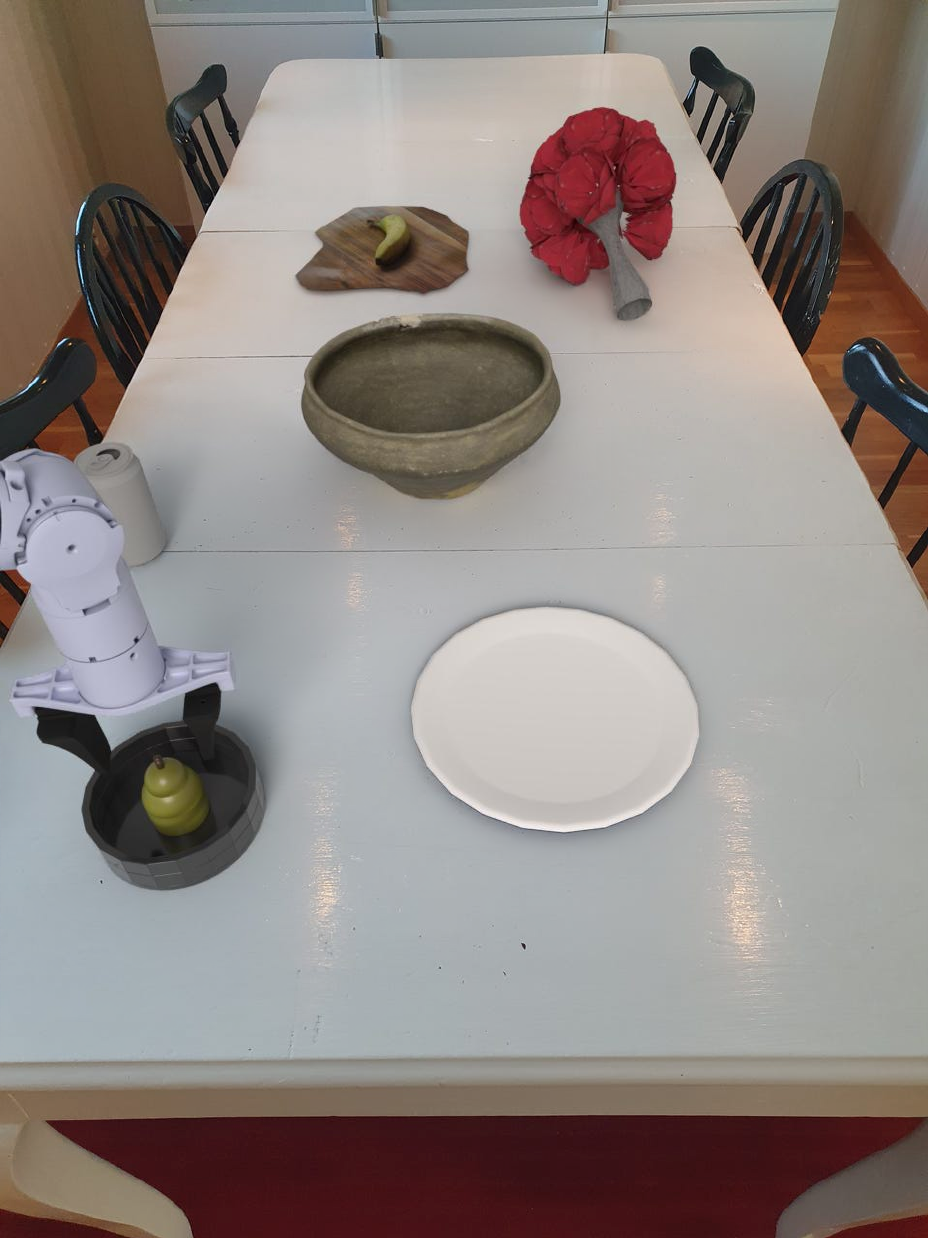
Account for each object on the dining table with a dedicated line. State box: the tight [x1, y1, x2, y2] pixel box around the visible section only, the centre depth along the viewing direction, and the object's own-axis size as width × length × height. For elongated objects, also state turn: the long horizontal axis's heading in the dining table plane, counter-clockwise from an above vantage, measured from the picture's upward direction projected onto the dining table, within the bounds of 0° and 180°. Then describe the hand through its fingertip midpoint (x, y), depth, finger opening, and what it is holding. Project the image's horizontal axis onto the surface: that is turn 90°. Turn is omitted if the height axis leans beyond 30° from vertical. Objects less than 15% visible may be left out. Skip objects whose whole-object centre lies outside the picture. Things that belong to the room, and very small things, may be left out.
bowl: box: [300, 312, 562, 500], centre depth 100 cm, size 28×28×14 cm
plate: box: [410, 605, 700, 834], centre depth 79 cm, size 25×25×1 cm
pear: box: [142, 755, 210, 836], centre depth 70 cm, size 5×5×7 cm
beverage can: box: [73, 441, 167, 568], centre depth 92 cm, size 6×6×12 cm
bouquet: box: [519, 106, 677, 321], centre depth 131 cm, size 22×24×30 cm
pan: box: [80, 720, 266, 891], centre depth 72 cm, size 13×13×4 cm
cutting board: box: [294, 205, 469, 294], centre depth 148 cm, size 35×27×4 cm
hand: (157, 755), depth 68 cm, fingers open, 7 cm apart
